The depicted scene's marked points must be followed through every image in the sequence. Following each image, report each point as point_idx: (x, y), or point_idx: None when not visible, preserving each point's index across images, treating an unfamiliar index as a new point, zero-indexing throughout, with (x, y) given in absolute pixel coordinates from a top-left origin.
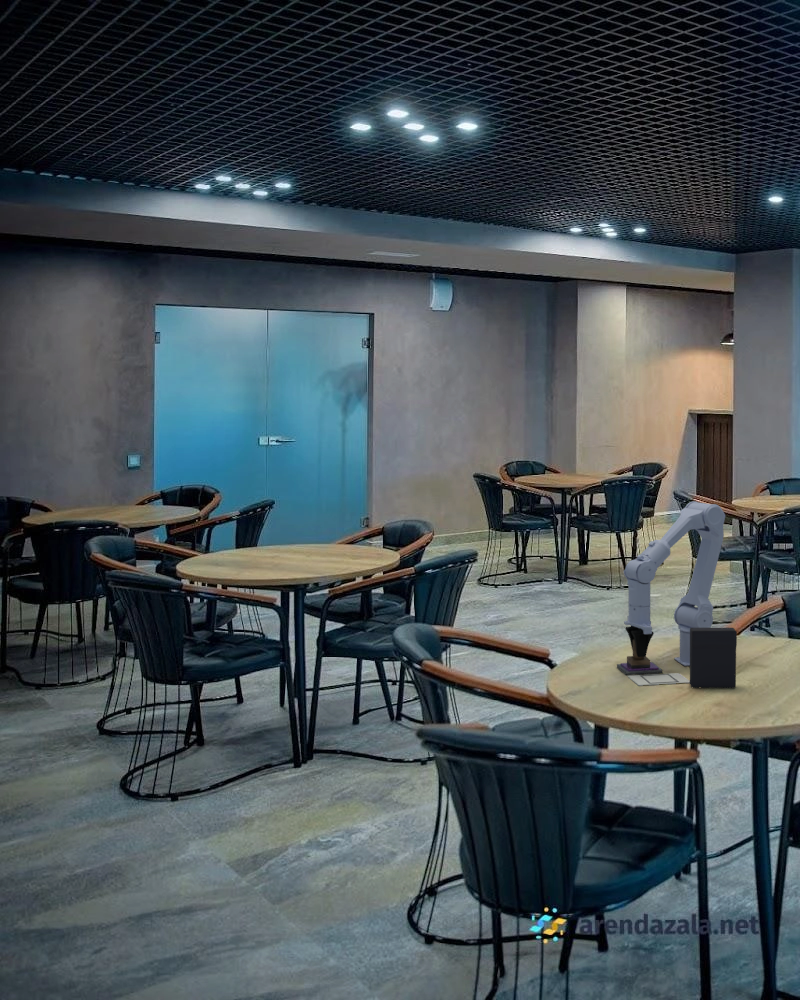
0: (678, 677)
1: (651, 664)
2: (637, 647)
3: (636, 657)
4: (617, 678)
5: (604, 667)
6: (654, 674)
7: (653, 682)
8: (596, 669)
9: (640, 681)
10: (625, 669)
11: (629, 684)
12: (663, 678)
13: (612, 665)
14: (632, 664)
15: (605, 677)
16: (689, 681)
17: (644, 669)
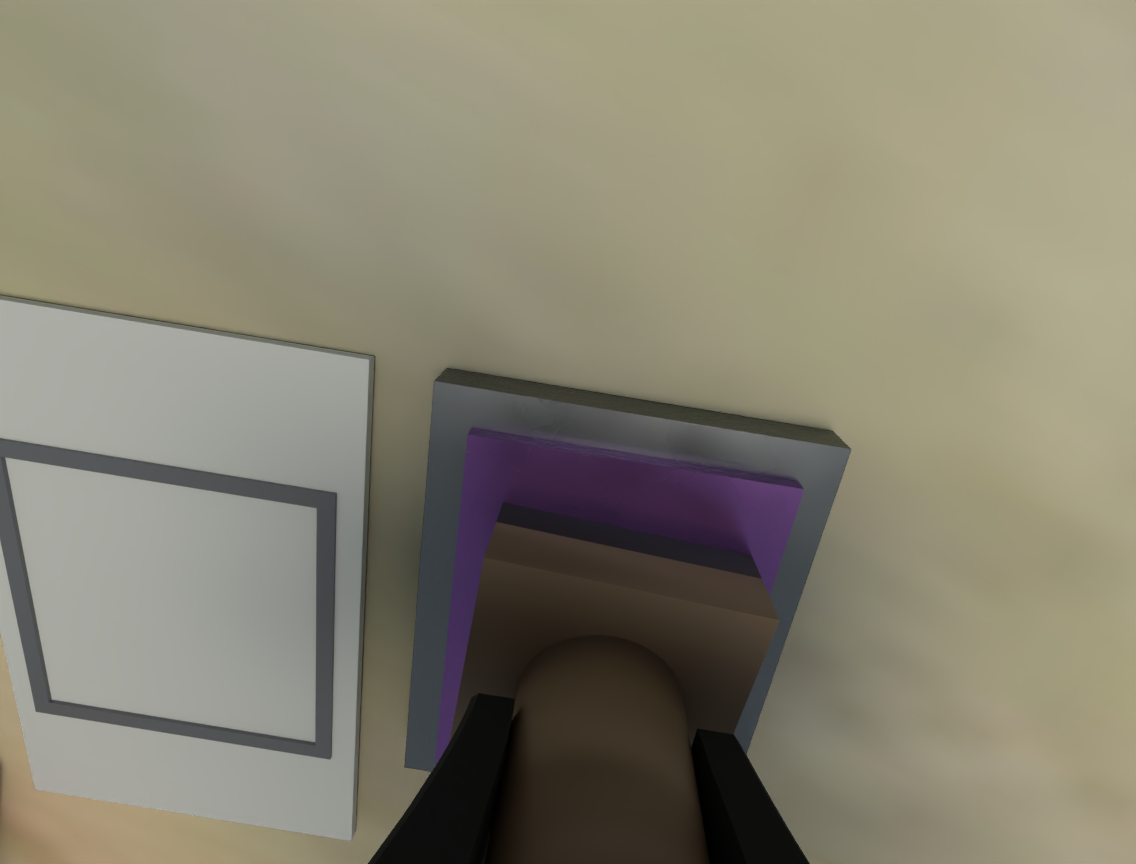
0: (201, 773)
1: None
2: (390, 834)
3: (538, 675)
4: (337, 193)
5: (942, 286)
6: (355, 648)
7: (30, 495)
8: (908, 113)
9: (80, 382)
10: (546, 429)
11: (25, 211)
12: (184, 652)
13: (972, 435)
14: (491, 538)
15: (429, 36)
16: (56, 785)
17: (452, 622)
